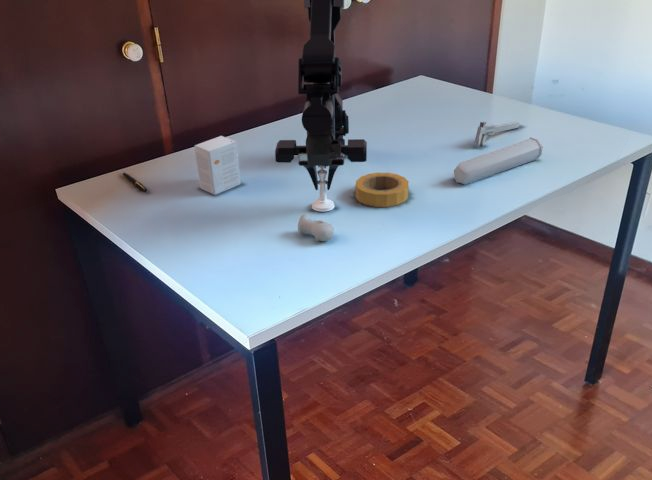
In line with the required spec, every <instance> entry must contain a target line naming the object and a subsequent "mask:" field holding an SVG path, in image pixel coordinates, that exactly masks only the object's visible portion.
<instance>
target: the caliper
mask: <svg viewBox="0 0 652 480" xmlns="http://www.w3.org/2000/svg"><path fill="white" fill-rule="evenodd" d="M520 126H522V124H521V123H520V122H518V121H513V122H507V123H501V124H493V123H492V124H487V121H480V123H479V126H478V127H477V129H476V130H477V131H476V134H475V141H474V143H475V144H474V147H476V148H480V147H482V148H483V147H484V144H485V143H486V139H487V136H489V137H494V135H495V133H499V132H503V131H510V130H516V129H518V128H519V127H520Z"/></svg>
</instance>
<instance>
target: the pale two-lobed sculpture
mask: <svg viewBox="0 0 652 480" xmlns="http://www.w3.org/2000/svg"><path fill="white" fill-rule="evenodd" d="M297 232H298V233H299V234H300V236H303V235H304V234H309V235H311V236H313V237H314V239H315V241H317V242H320V241H322V242H328V241H330V240H332V238H333V236H334V233H335V228H334V226H333V225H332V224H331V223H329V222H328V221H324V220H320V219H319V220H312V219H311V218H310V217H309V214H308V213H306V214H302V215H301V216H300V218H299V220H298V223H297Z"/></svg>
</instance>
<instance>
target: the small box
mask: <svg viewBox="0 0 652 480" xmlns="http://www.w3.org/2000/svg"><path fill="white" fill-rule="evenodd" d="M237 143H238V142H237V140H234V139H231V138H228V137H226V136H223V135H219V136H217V137H214V138H211V139H208V140H206V141H203V142H200V143H197V144H195V145H194V152H195V157H196V158H195V160H196V167H197V173H198V180H199V187H200V189H201V190H203V191H205V192H207V193H210V194H212V195H214V196H217V195H219V194H221V193H224V192H226V191H228V190H231V189H233V188H235V187H238V186H241V185H242V179H241V171H240V161H239V153H238V144H237Z"/></svg>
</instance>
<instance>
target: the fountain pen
mask: <svg viewBox="0 0 652 480" xmlns="http://www.w3.org/2000/svg"><path fill="white" fill-rule="evenodd" d="M121 174H122V176H123V177H124V178H126V179H127V180H128V181H129V182H130V183H131V184H133V185H134V186H135V188H137V189H139V190H140V191H142V192H144V193H147V191H148V190H147V188H146V187H145V186H144V185H143V184H142V183H141V182H139V181H138V180H137V179H135V178H133V177H132V176H130V174H128V173H126V172H124V171H121Z"/></svg>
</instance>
